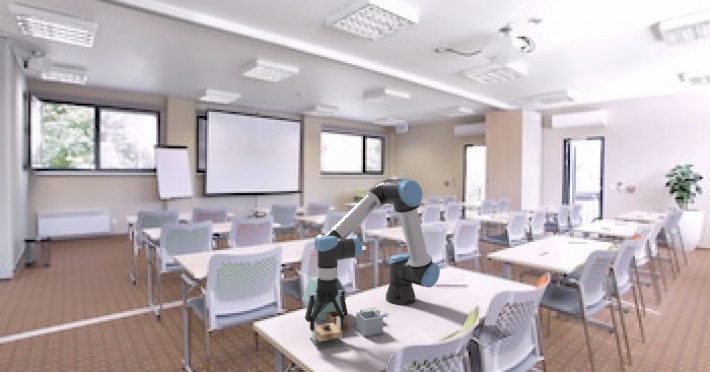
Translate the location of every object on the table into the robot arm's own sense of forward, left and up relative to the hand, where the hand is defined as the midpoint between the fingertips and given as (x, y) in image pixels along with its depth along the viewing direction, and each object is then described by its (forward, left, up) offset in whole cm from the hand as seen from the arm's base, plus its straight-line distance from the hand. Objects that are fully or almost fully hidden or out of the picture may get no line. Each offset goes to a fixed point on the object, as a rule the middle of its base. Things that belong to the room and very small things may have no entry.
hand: (326, 336), depth 138 cm
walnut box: (-8, -10, -2) cm, 13 cm away
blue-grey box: (-19, -2, -2) cm, 19 cm away
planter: (-8, -25, -2) cm, 26 cm away
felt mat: (0, 0, -2) cm, 2 cm away
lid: (0, 0, +1) cm, 1 cm away
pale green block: (-24, -12, -2) cm, 27 cm away
